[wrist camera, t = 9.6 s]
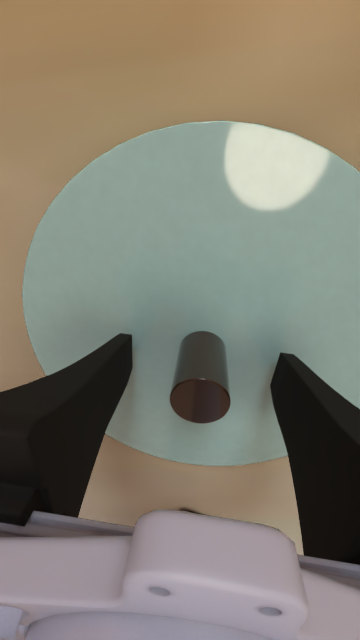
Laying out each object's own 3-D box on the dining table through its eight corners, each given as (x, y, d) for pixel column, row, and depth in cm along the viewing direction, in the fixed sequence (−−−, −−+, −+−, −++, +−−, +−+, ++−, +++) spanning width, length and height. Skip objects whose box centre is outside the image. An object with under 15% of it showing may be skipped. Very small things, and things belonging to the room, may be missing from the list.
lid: (447, 386, 14) (546, 472, 10) (169, 478, 21) (158, 552, 16) (292, -29, 8) (384, -271, 4) (-32, 293, 14) (-130, 336, 10)
